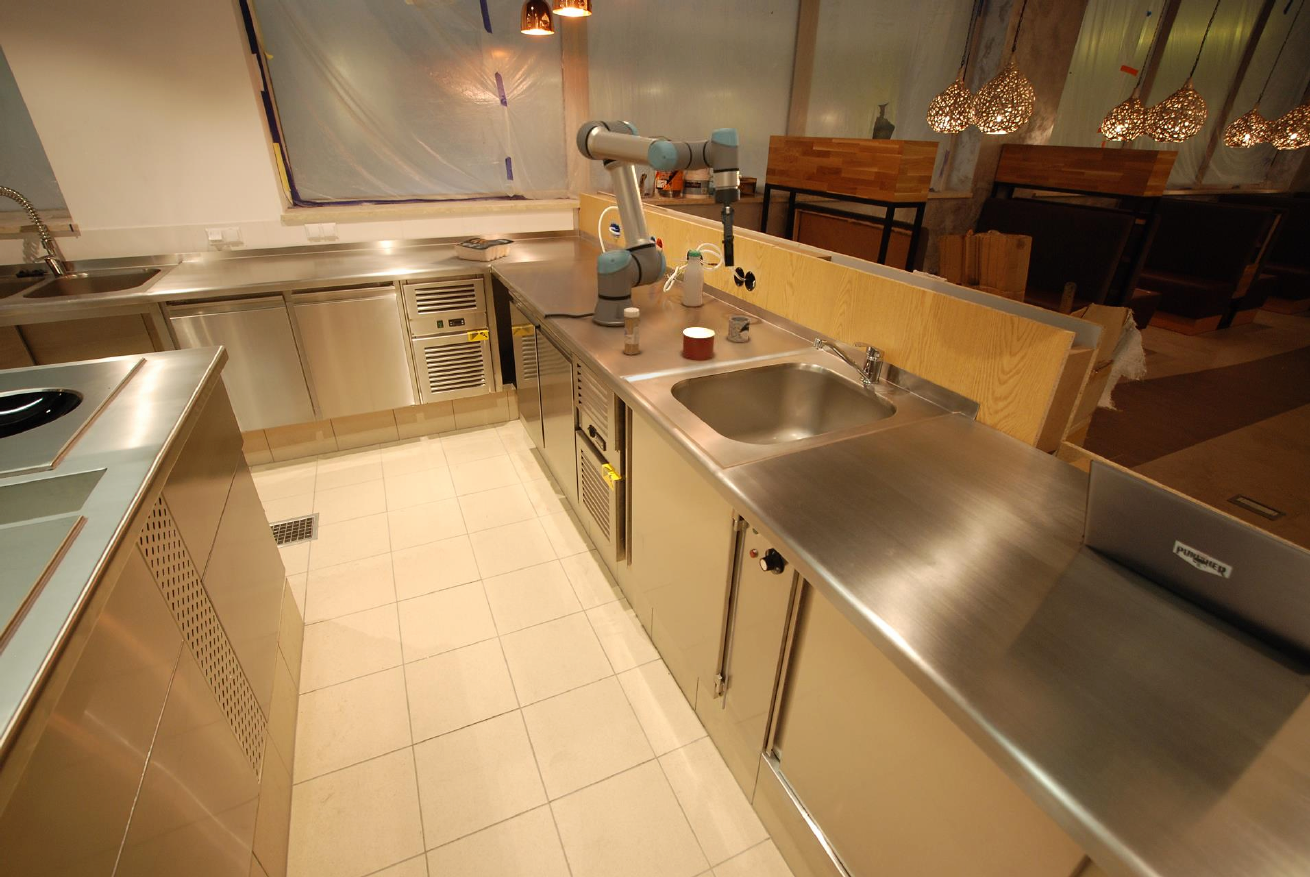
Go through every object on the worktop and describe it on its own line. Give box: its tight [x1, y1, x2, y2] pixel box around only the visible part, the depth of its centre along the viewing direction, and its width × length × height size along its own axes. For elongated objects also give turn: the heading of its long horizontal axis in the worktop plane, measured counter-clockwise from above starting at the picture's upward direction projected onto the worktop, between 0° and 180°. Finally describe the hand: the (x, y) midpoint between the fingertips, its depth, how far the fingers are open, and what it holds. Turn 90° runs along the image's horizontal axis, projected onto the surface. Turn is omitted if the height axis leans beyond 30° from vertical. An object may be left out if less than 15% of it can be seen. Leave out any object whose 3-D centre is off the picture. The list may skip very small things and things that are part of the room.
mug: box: [727, 315, 751, 343], centre depth 187 cm, size 10×7×7 cm, turn 148°
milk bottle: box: [682, 250, 705, 307], centre depth 219 cm, size 8×8×20 cm
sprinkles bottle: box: [623, 307, 640, 356], centre depth 171 cm, size 5×5×13 cm
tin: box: [682, 327, 716, 361], centre depth 172 cm, size 9×9×7 cm
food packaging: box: [448, 237, 516, 262], centre depth 294 cm, size 25×8×23 cm
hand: (729, 263), depth 175 cm, fingers open, 13 cm apart
